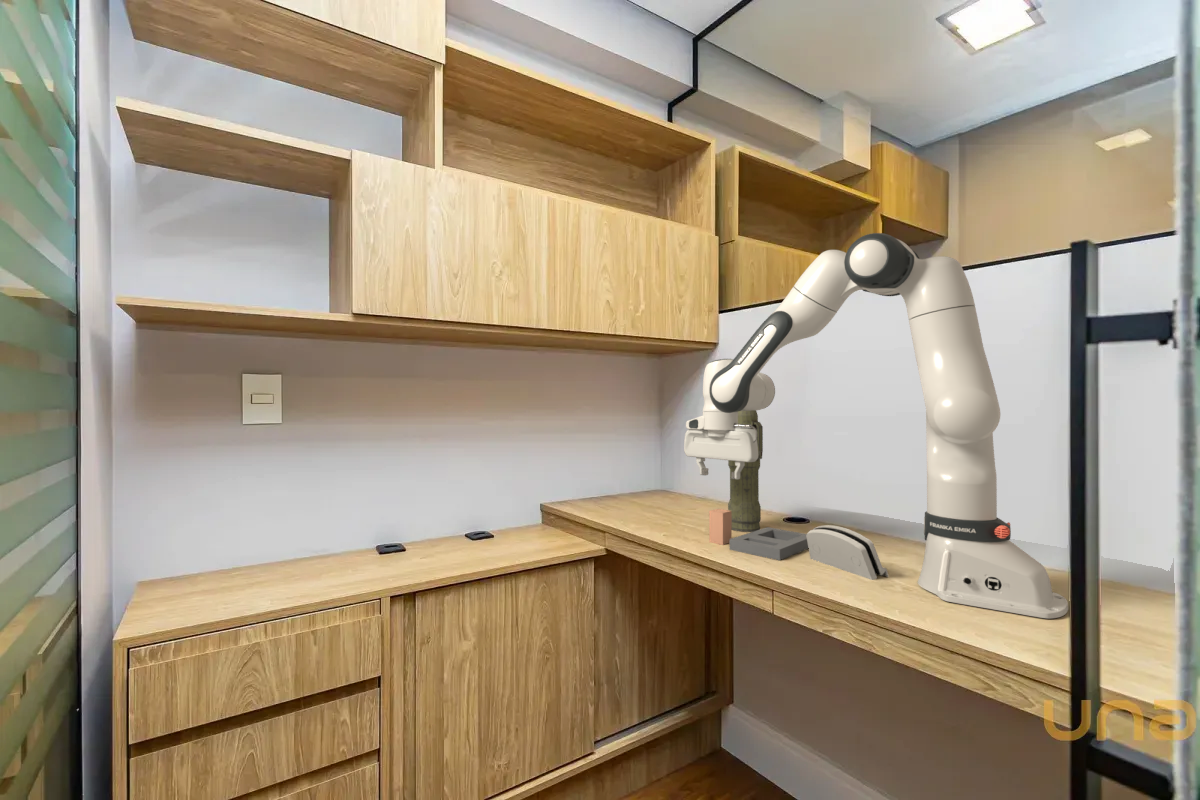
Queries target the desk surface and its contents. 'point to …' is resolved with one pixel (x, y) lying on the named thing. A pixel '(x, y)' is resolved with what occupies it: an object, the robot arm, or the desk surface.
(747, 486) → the thermos
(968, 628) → the desk surface
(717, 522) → the square peg
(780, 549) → the socket block
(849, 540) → the grey arched slotted block
